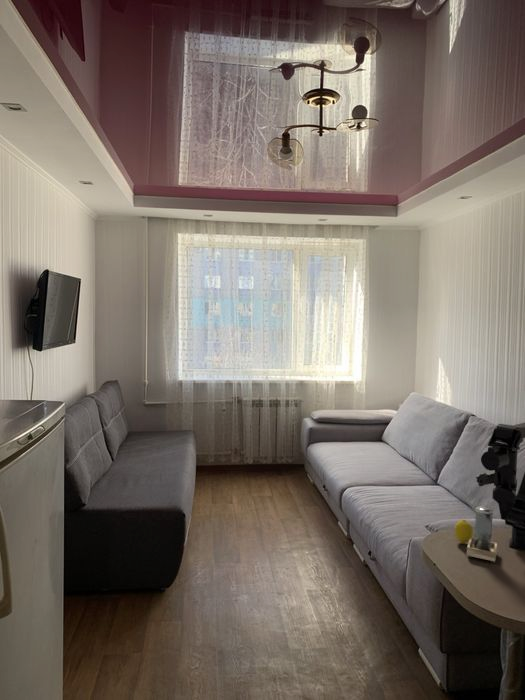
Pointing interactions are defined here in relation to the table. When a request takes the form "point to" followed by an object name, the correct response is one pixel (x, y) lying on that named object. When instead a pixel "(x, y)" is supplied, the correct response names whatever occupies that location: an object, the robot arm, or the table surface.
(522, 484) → the robot arm
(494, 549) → the square wooden tray
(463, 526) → the lemon
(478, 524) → the canister
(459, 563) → the table surface
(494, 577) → the table surface
